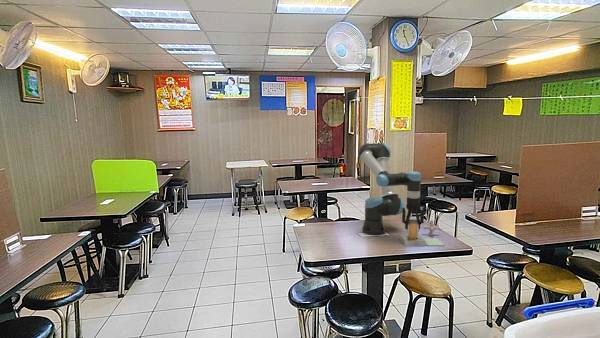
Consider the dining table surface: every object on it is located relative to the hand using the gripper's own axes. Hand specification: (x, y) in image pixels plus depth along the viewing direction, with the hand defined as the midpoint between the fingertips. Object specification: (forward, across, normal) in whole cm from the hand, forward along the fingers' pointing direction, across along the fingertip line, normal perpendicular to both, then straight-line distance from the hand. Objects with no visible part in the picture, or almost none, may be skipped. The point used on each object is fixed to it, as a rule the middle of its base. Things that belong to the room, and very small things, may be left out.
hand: (412, 234), depth 193 cm
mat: (+5, +12, -1) cm, 13 cm away
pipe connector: (+5, +16, +13) cm, 22 cm away
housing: (+5, 0, 0) cm, 5 cm away
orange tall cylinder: (+5, 0, 0) cm, 5 cm away
